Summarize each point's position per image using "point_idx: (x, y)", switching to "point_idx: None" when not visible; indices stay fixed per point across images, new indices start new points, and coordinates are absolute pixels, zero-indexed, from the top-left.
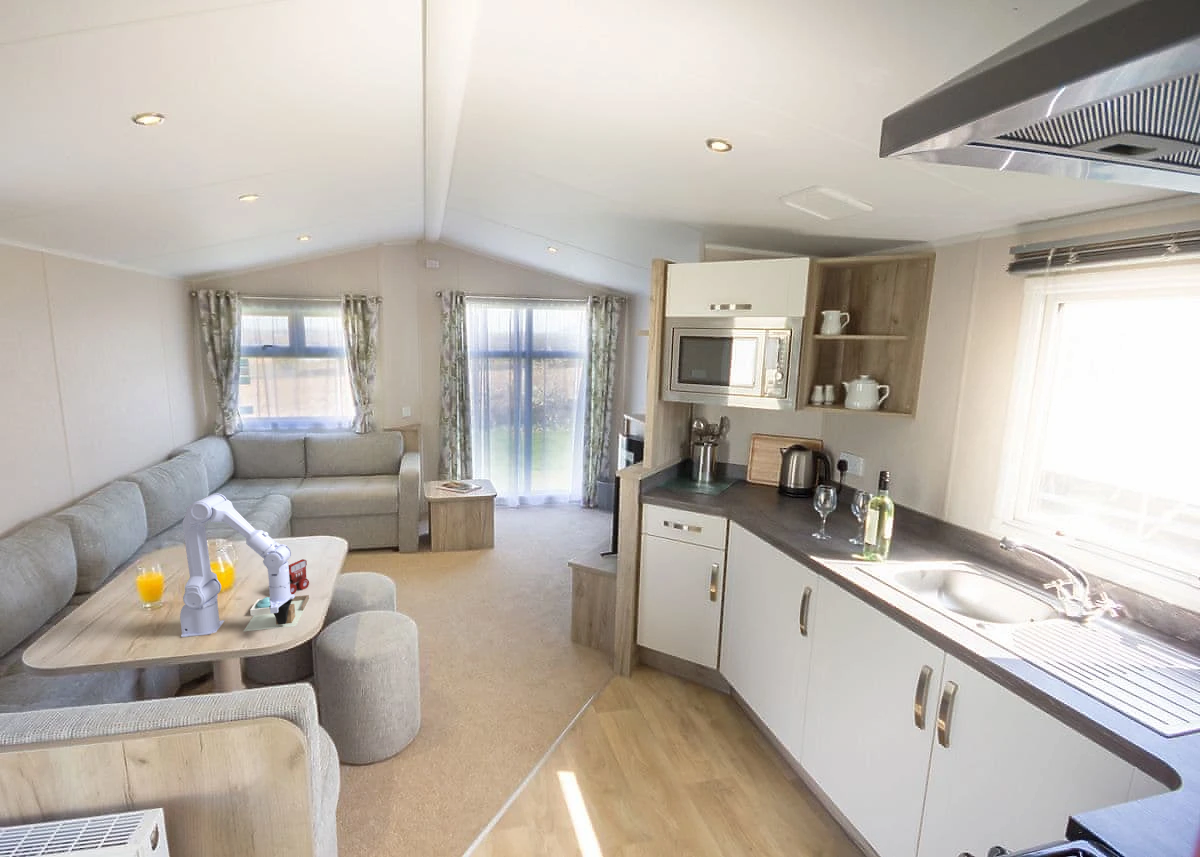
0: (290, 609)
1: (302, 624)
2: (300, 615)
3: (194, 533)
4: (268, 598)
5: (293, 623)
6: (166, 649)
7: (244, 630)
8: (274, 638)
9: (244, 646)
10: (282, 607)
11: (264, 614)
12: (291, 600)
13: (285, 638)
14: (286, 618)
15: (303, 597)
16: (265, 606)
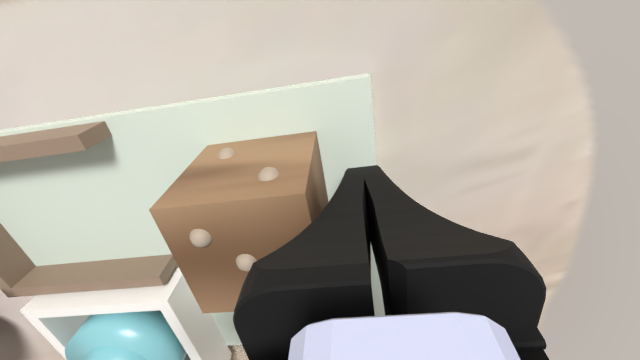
0: (287, 201)
1: (315, 36)
2: (188, 109)
3: None
4: None
5: (323, 113)
6: None
7: None
8: (509, 168)
9: (549, 284)
10: (536, 321)
11: (209, 313)
12: (305, 283)
13: (542, 88)
14: (377, 179)
15: None
16: (172, 351)
